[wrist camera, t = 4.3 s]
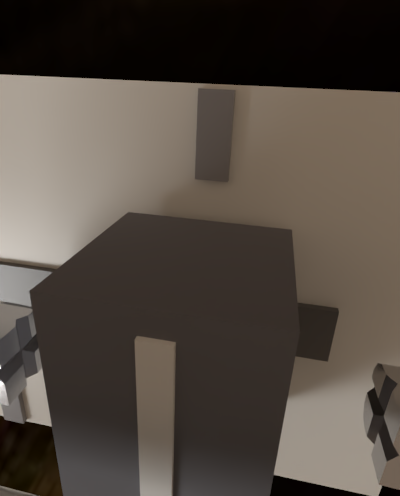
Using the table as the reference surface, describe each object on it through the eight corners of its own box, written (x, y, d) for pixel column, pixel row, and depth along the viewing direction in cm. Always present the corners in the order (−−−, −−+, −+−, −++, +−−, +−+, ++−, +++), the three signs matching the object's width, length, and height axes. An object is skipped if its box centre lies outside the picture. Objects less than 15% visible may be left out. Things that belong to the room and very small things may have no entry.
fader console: (442, 95, 11) (531, 97, 7) (355, 402, 16) (379, 503, 12) (-252, 63, 15) (-432, 55, 11) (-151, 312, 20) (-253, 364, 16)
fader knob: (292, 229, 8) (300, 336, 5) (262, 418, 11) (253, 586, 7) (128, 211, 9) (24, 294, 5) (134, 393, 12) (66, 535, 8)
